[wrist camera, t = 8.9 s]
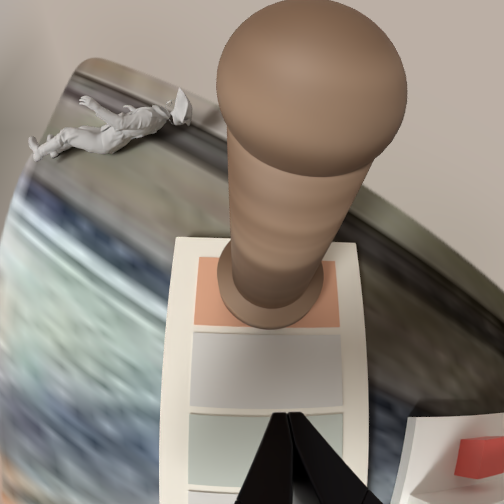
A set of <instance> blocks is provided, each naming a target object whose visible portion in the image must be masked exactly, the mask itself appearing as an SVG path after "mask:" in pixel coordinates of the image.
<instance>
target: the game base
mask: <svg viewBox="0 0 504 504" xmlns="http://www.w3.org/2000/svg"><path fill="white" fill-rule="evenodd" d="M390 504H504V413H495V414H484V415H471V416H451V417H408V420H407V427H406V433H405V439H404V444H403V450H402V455H401V460H400V465H399V470H398V474H397V479H396V483H395V487H394V491H393V495H392V499H391V503H390Z"/></svg>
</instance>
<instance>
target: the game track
mask: <svg viewBox="0 0 504 504" xmlns="http://www.w3.org/2000/svg"><path fill="white" fill-rule="evenodd" d="M230 240H231V239H230V238H196V237H176V242H175V249H174V257H173V265H172V273H171V282H170V291H169V300H168V310H167V320H166V331H165V343H164V356H163V371H162V388H161V409H160V444H159V494H160V504H234V502H235V501H236V498H237V496H238V494H239V492H240V489H241V487H242V485H243V483H244V480H245V478H246V476H247V473H248V471H249V469H250V466H251V464H252V462H253V459H254V457H255V455H256V452H257V450H258V447H259V445H260V442H261V440H262V437H263V435H264V433H265V430H266V427H267V425H268V422H269V420H270V417H271V415H272V413H273V412H286V413H288V412H302V413H303V414H304V415H305V416H306V417H307V419H308V420H309V421H310V422H311V423H312V425H313V426H314V427H315V428H316V429H317V431H318V432H319V433H320V434H321V435H322V436H323V438H324V439H325V440H326V441H327V442H328V443H329V445H330V446H331V447H332V448H333V449H334V450H335V452H336V453H337V454H338V455H339V456H340V457H341V458H342V460H343V461H344V462H345V463H346V464H347V465H348V466H349V467H350V469H351V470H352V471H353V472H354V473H355V474H356V475H357V476H358V478H359V479H360V480H361V481H362V482H363V483H364V484H365V485H366V486H367V476H368V446H369V402H368V370H367V351H366V336H365V323H364V311H363V300H362V290H361V281H360V272H359V264H358V256H357V249H356V243H343V242H332V243H331V245H330V247H329V248H328V250H327V252H326V254H325V256H324V258H323V259H322V261H321V262H322V266H323V272H324V280H323V287H322V290H321V293H320V295H319V297H318V299H317V301H316V302H315V304H314V305H313V306H312V308H311V309H310V311H309V312H308V313H307V314H306V315H305V316H304V317H303V318H302V319H301V320H299V321H298V322H296V323H295V324H293V325H290V326H288V327H285V328H282V329H276V330H264V329H258V328H254V327H251V326H249V325H247V324H245V323H243V322H241V321H240V320H238V319H237V318H236V317H235V316H233V315H232V314H231V312H230V311H229V310H228V309H227V307H226V306H225V304H224V302H223V300H222V298H221V295H220V291H219V286H218V279H217V266H218V261H219V258H220V255H221V253H222V251H223V249H224V248H225V246H226V245H227V244H228V242H229V241H230Z"/></svg>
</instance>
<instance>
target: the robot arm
mask: <svg viewBox="0 0 504 504" xmlns="http://www.w3.org/2000/svg"><path fill="white" fill-rule="evenodd" d="M234 504H383V503H382V502H381V501H380V500H379V499H378V498H377V497H376V496H375V495H374V494H373V493H372V492H371V491H370V490H368V487H367V486H366V485H365V484H364V483H363V482H362V481H361V480H360V479H359V478H358V476H357V475H356V474H355V473H354V472H353V471H352V470H351V469H350V467H349V466H348V465H347V464H346V463H345V462H344V461H343V460H342V458H341V457H340V456H339V455H338V454H337V453H336V452H335V450H334V449H333V448H332V447H331V446H330V445H329V443H328V442H327V441H326V440H325V439H324V438H323V436H322V435H321V434H320V433H319V432H318V431H317V429H316V428H315V427H314V426H313V425H312V423H311V422H310V421H309V420H308V419H307V417H306V416H305V415H304V414H303V413H302V412H288V413H286V412H273V413H272V415H271V417H270V420H269V422H268V425H267V427H266V430H265V433H264V435H263V437H262V440H261V442H260V445H259V447H258V450H257V452H256V455H255V457H254V459H253V462H252V464H251V466H250V469H249V471H248V473H247V476H246V478H245V480H244V483H243V485H242V487H241V489H240V492H239V494H238V496H237V498H236V501H235V502H234Z"/></svg>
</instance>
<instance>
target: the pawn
mask: <svg viewBox="0 0 504 504" xmlns="http://www.w3.org/2000/svg"><path fill="white" fill-rule="evenodd" d="M216 90H217V97H218V103H219V107H220V110H221V113H222V116H223V118H224V121H225V123H226V125H227V146H228V180H229V208H230V234H231V240H230V241H229V242H228V244H227V245H226V246H225V248H224V249H223V251H222V253H221V255H220V258H219V261H218V266H217V279H218V286H219V291H220V295H221V298H222V300H223V302H224V304H225V306H226V307H227V309H228V310H229V311H230V312H231V314H232V315H233V316H235V317H236V318H237V319H238V320H240V321H241V322H243V323H245V324H247V325H249V326H251V327H254V328H258V329H264V330H276V329H282V328H285V327H288V326H290V325H293V324H295V323H296V322H298V321H299V320H301V319H302V318H303V317H304V316H305V315H306V314H307V313H308V312H309V311H310V309H311V308H312V306H313V305H314V304H315V302H316V301H317V299H318V297H319V295H320V293H321V290H322V287H323V280H324V272H323V266H322V262H321V261H322V259H323V258H324V256H325V254H326V252H327V250H328V248H329V247H330V245H331V243H332V241H333V239H334V237H335V235H336V233H337V232H338V230H339V228H340V226H341V224H342V222H343V220H344V218H345V216H346V214H347V213H348V211H349V209H350V207H351V205H352V203H353V201H354V199H355V197H356V195H357V193H358V191H359V189H360V187H361V185H362V183H363V181H364V179H365V177H366V175H367V173H368V171H369V169H370V167H371V164H372V162H373V161H374V159H375V158H376V157H377V156H379V155H380V154H381V153H382V152H383V151H384V149H385V148H386V147H387V146H388V145H389V144H390V143H391V142H392V140H393V138H394V137H395V135H396V134H397V132H398V130H399V128H400V126H401V123H402V120H403V117H404V114H405V109H406V104H407V81H406V75H405V71H404V68H403V65H402V62H401V58H400V57H399V55H398V52H397V51H396V48H395V47H394V45H393V43H392V42H391V41H390V39H389V38H388V37H387V35H386V34H385V33H384V32H383V31H382V30H381V29H380V28H379V27H378V26H377V25H376V24H375V23H374V22H373V21H372V20H370V19H369V18H368V17H366V16H365V15H363V14H362V13H360V12H358V11H357V10H355V9H353V8H351V7H348V6H346V5H343V4H341V3H338V2H334V1H331V0H284V1H281V2H277V3H275V4H272V5H269V6H267V7H265V8H263V9H261V10H259V11H258V12H256V13H254V14H253V15H251V16H250V17H249V18H248V19H247V20H245V21H244V22H243V23H242V24H241V25H240V26H239V27H238V28H237V29H236V30H235V32H234V33H233V34H232V36H231V37H230V39H229V40H228V42H227V44H226V45H225V48H224V50H223V52H222V55H221V58H220V61H219V65H218V69H217V82H216Z"/></svg>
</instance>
